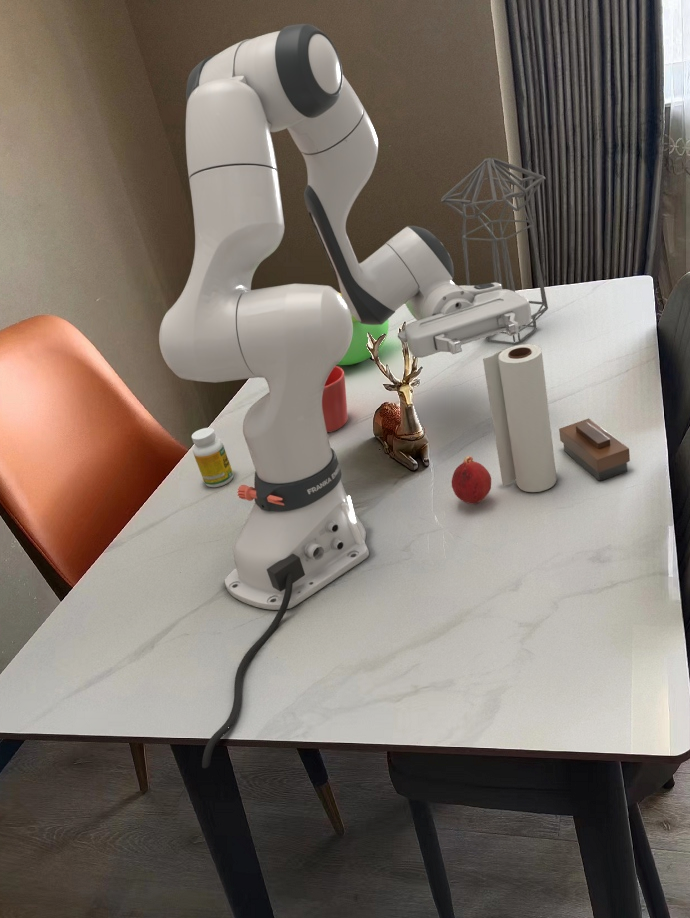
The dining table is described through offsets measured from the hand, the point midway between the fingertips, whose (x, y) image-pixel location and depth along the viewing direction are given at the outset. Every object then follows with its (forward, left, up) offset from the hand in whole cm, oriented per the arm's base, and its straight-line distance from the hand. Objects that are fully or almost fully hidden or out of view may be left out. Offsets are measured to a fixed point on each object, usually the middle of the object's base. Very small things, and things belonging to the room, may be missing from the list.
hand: (485, 339), depth 130 cm
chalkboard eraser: (+2, -16, -20) cm, 25 cm away
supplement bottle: (-25, +44, -20) cm, 54 cm away
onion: (-15, -4, -20) cm, 25 cm away
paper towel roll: (-7, -10, -20) cm, 23 cm away
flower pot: (-2, +38, -20) cm, 43 cm away
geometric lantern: (+42, +24, -20) cm, 53 cm away
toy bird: (+24, +52, -20) cm, 61 cm away
